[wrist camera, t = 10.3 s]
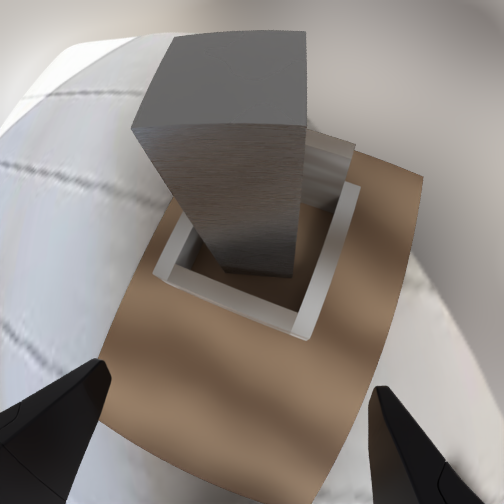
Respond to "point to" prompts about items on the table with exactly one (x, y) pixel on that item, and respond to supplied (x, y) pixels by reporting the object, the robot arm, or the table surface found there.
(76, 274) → the table surface
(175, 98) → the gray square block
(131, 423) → the keeper board
